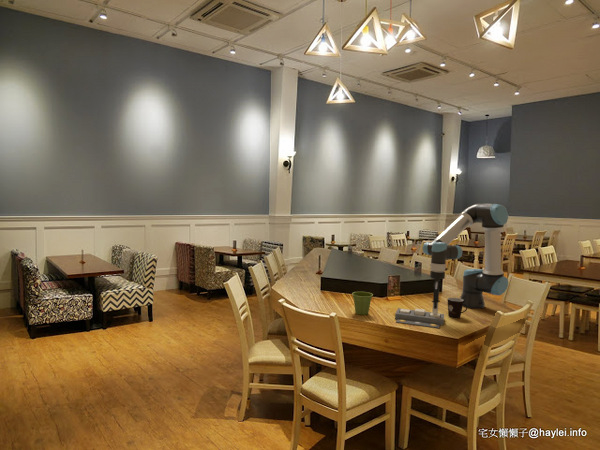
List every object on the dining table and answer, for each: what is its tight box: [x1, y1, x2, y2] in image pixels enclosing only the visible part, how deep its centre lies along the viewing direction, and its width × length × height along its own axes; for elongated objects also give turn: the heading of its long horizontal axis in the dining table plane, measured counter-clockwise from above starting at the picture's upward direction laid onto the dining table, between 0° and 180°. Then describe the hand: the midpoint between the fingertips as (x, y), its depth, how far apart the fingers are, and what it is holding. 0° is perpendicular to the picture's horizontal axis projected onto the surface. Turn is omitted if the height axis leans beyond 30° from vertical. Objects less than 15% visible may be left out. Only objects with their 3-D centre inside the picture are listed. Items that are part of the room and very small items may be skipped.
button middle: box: [414, 308, 426, 316], centre depth 237 cm, size 5×5×2 cm
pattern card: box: [395, 319, 441, 329], centre depth 229 cm, size 22×6×1 cm, turn 69°
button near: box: [430, 313, 441, 318], centre depth 235 cm, size 5×5×2 cm
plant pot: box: [351, 291, 374, 316], centre depth 244 cm, size 12×12×11 cm
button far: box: [400, 308, 411, 314], centre depth 240 cm, size 5×5×2 cm
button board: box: [394, 307, 445, 326], centre depth 237 cm, size 25×12×3 cm, turn 69°
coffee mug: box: [446, 297, 468, 319], centre depth 243 cm, size 12×9×10 cm
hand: (435, 313), depth 234 cm, fingers closed
